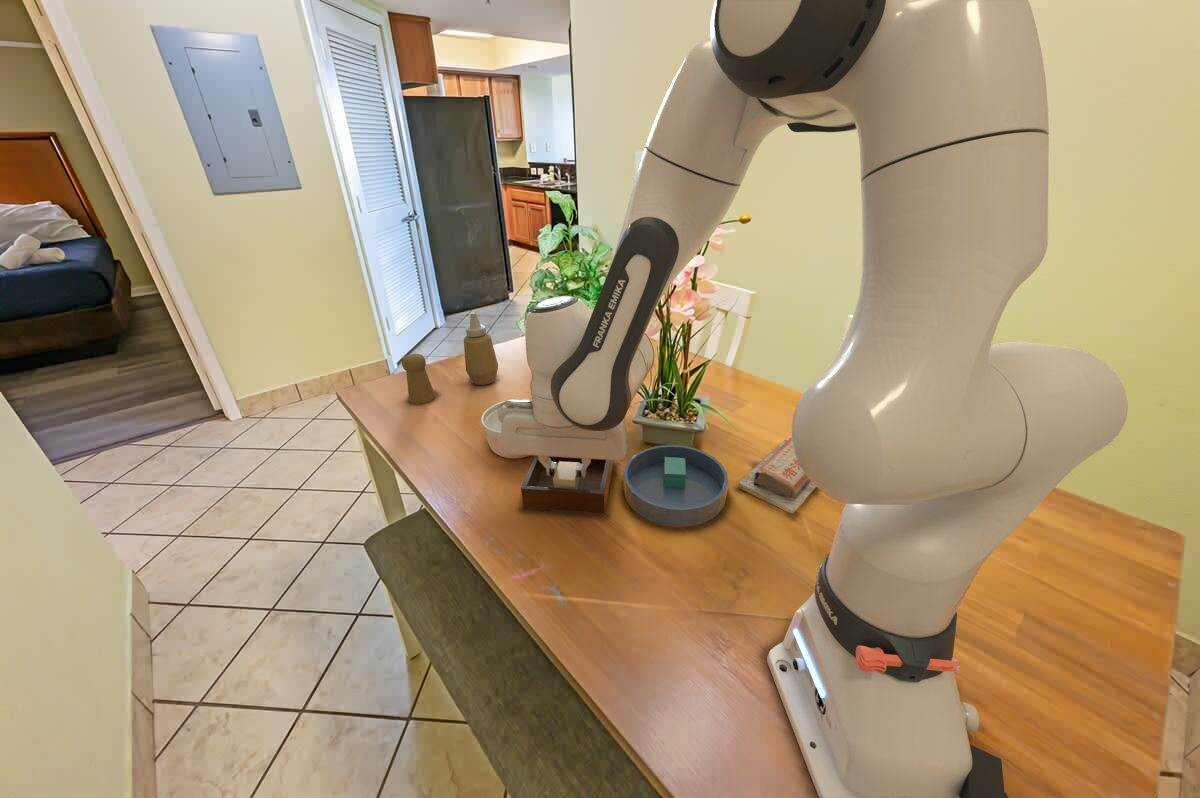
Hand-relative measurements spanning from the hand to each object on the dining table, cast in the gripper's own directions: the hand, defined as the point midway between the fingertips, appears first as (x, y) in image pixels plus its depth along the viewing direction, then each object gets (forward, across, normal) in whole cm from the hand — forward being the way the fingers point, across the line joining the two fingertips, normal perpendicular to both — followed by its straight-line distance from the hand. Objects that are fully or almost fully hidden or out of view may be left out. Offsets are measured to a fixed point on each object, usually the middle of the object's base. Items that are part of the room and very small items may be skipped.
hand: (567, 474), depth 79 cm
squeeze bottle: (+5, -30, +42) cm, 52 cm away
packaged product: (+5, +38, +9) cm, 39 cm away
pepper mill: (+5, -42, +32) cm, 53 cm away
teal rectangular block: (+4, +18, +6) cm, 19 cm away
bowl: (+5, +18, +3) cm, 19 cm away
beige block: (+2, 0, 0) cm, 2 cm away
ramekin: (+5, -13, +15) cm, 20 cm away
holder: (+5, 0, +3) cm, 6 cm away
